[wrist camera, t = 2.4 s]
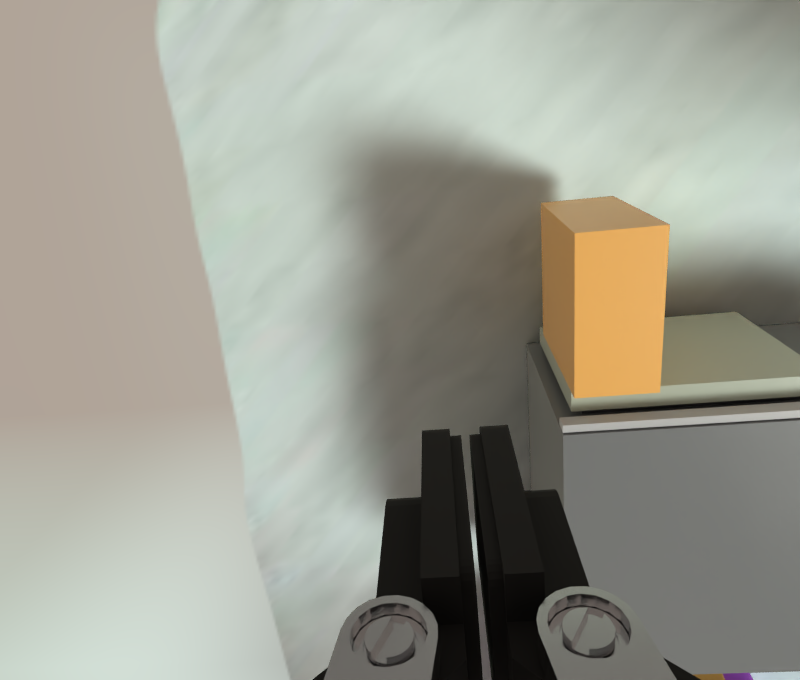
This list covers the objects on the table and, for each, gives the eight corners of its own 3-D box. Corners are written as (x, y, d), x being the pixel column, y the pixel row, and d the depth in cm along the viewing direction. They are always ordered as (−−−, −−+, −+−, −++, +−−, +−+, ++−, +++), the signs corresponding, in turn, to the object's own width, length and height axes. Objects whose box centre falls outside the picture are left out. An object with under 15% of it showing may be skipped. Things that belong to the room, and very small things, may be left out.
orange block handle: (749, 179, 26) (867, 206, 19) (734, 327, 28) (833, 400, 21) (537, 199, 27) (574, 233, 20) (539, 342, 29) (574, 418, 22)
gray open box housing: (1004, 300, 28) (1246, 382, 20) (946, 518, 33) (1124, 660, 24) (526, 336, 30) (563, 426, 22) (532, 538, 34) (564, 678, 26)
